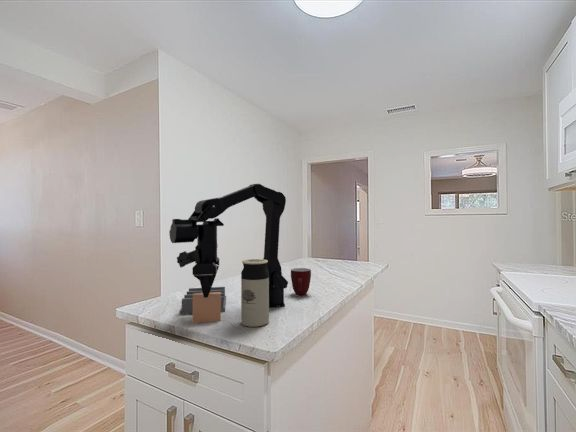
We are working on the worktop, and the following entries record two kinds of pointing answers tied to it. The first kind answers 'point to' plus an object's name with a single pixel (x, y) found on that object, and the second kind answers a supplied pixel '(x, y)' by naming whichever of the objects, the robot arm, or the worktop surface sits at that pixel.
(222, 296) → the coaster holder
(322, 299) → the worktop surface
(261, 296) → the travel mug
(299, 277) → the mug
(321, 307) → the worktop surface
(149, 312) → the worktop surface
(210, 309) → the tile
